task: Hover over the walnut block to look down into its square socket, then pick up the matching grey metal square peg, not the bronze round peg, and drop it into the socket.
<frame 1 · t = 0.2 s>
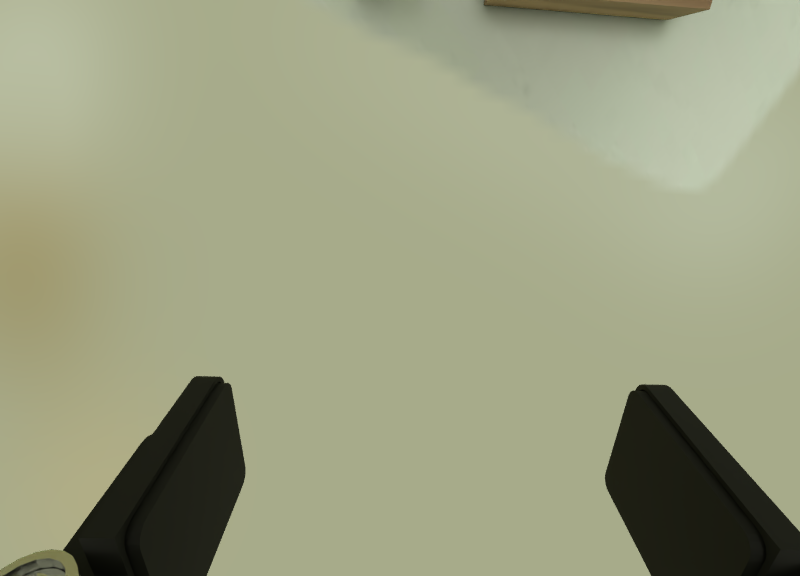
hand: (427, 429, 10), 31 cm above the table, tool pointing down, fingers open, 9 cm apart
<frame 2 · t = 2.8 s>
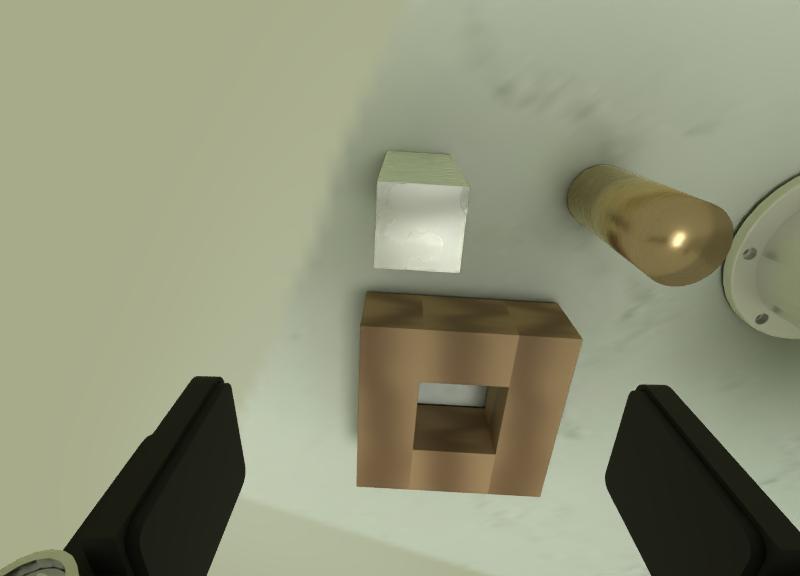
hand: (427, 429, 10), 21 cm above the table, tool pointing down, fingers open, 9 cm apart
socket block: (452, 376, 35), on the table
square peg: (416, 184, 29), on the table
round peg: (598, 195, 29), on the table
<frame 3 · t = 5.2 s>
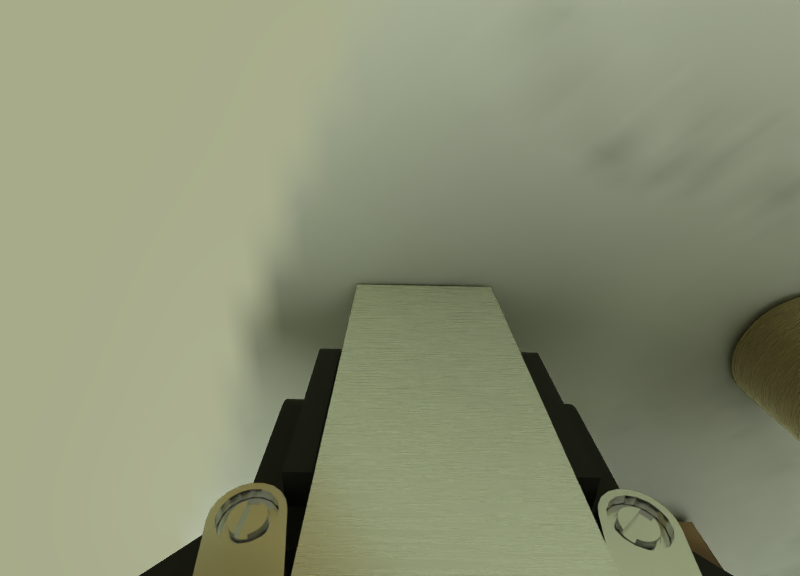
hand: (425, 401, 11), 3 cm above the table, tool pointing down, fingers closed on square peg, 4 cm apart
square peg: (421, 343, 14), on the table, touching gripper
round peg: (797, 350, 14), on the table
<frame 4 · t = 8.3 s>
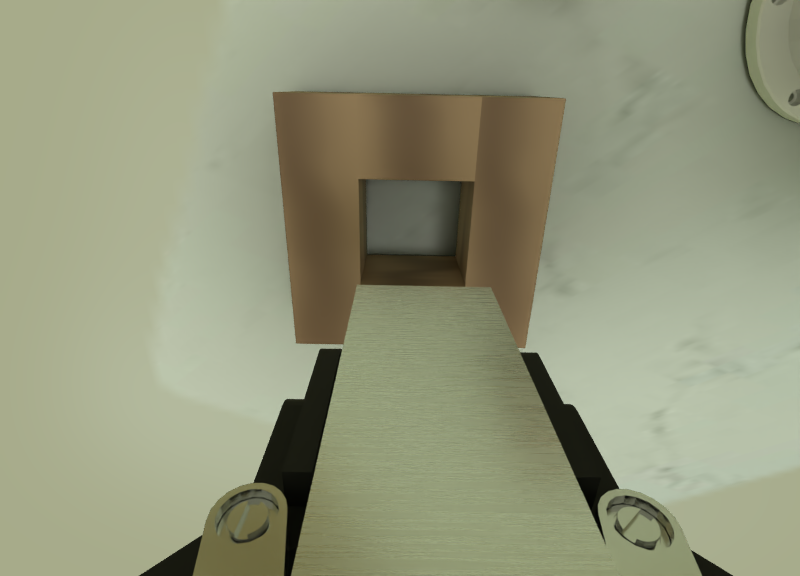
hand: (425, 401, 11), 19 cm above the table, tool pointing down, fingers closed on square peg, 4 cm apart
socket block: (412, 212, 28), on the table
square peg: (421, 343, 14), point 16 cm above the table, touching gripper
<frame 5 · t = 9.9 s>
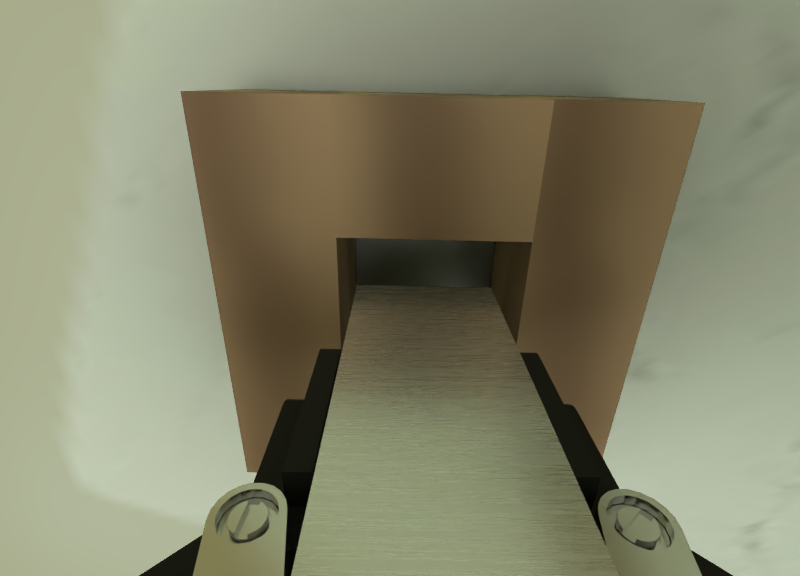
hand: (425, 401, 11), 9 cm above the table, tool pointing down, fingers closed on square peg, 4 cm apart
socket block: (424, 268, 19), on the table
square peg: (421, 343, 14), point 6 cm above the table, touching gripper
when the fingers open (6 cm above the table, at t = 11.2 s): square peg drops 3 cm, resting in socket block.
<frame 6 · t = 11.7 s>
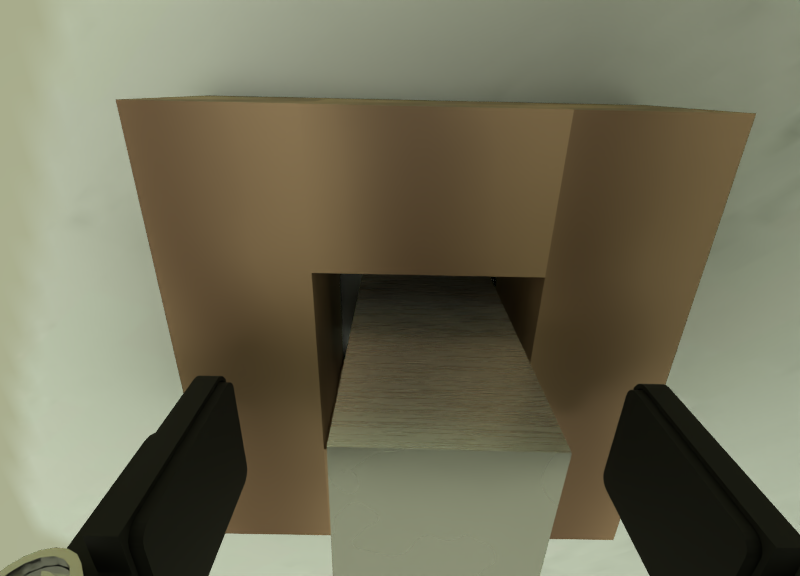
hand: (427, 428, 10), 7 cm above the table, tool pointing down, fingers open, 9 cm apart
socket block: (417, 295, 17), on the table
square peg: (419, 295, 17), resting in socket block
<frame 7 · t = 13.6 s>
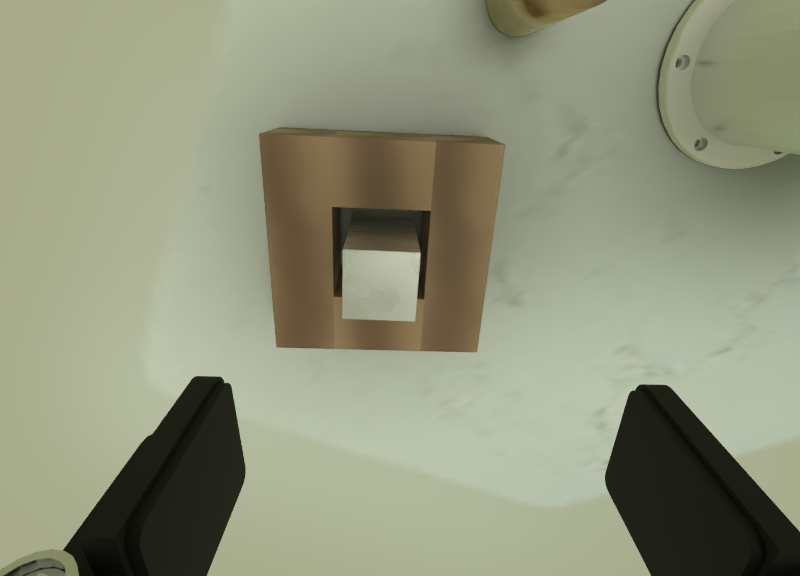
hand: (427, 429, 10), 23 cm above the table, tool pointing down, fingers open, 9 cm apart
socket block: (381, 232, 32), on the table
square peg: (382, 232, 32), resting in socket block
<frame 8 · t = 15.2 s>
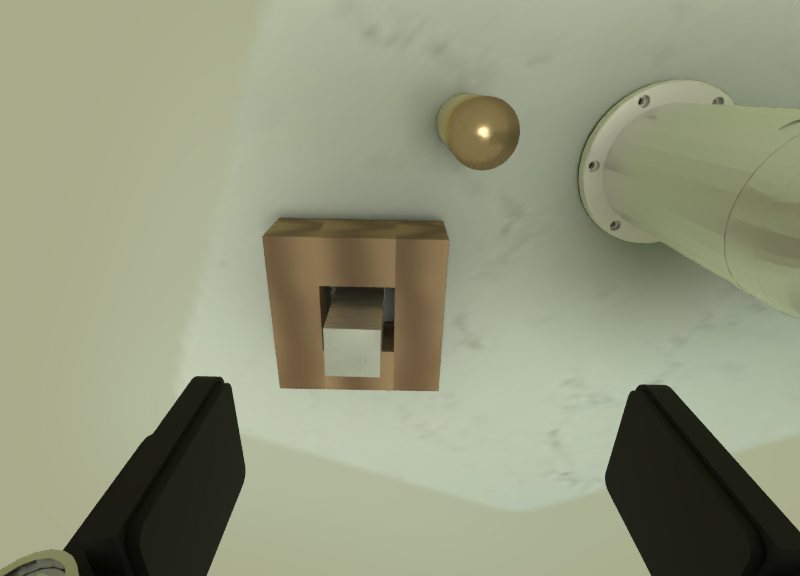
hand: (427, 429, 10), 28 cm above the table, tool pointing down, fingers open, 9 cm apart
socket block: (362, 293, 40), on the table
square peg: (363, 293, 40), resting in socket block
round peg: (462, 122, 34), on the table
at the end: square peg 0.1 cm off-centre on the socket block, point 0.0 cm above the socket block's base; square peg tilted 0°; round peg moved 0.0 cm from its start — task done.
